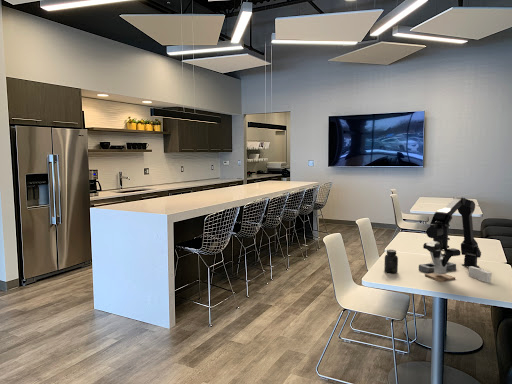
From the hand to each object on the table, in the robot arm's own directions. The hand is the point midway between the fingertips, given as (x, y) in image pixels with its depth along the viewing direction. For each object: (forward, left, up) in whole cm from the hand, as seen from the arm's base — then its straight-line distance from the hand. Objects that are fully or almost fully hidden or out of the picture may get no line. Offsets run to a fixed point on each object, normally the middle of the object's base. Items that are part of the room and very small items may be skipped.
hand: (440, 265), depth 196 cm
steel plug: (0, 0, -4) cm, 4 cm away
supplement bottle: (+17, -17, -7) cm, 25 cm away
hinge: (-25, -25, -7) cm, 36 cm away
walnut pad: (0, 0, -6) cm, 7 cm away
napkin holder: (-17, +9, -7) cm, 20 cm away
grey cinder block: (-10, -11, -6) cm, 16 cm away
